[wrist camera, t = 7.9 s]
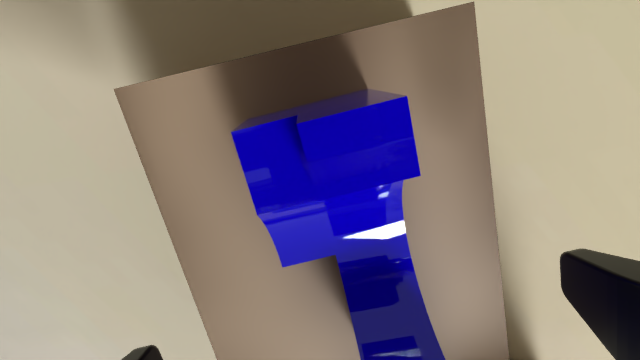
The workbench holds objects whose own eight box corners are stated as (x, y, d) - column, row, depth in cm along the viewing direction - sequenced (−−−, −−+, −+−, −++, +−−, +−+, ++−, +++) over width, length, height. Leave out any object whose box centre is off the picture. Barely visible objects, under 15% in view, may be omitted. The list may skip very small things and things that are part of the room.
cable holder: (247, 118, 10) (214, 144, 6) (367, 88, 10) (406, 95, 6) (315, 345, 12) (321, 465, 9) (414, 322, 12) (465, 432, 9)
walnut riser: (256, 327, 18) (240, 419, 13) (175, 84, 15) (113, 89, 10) (453, 282, 18) (509, 359, 13) (417, 26, 14) (473, 1, 10)
